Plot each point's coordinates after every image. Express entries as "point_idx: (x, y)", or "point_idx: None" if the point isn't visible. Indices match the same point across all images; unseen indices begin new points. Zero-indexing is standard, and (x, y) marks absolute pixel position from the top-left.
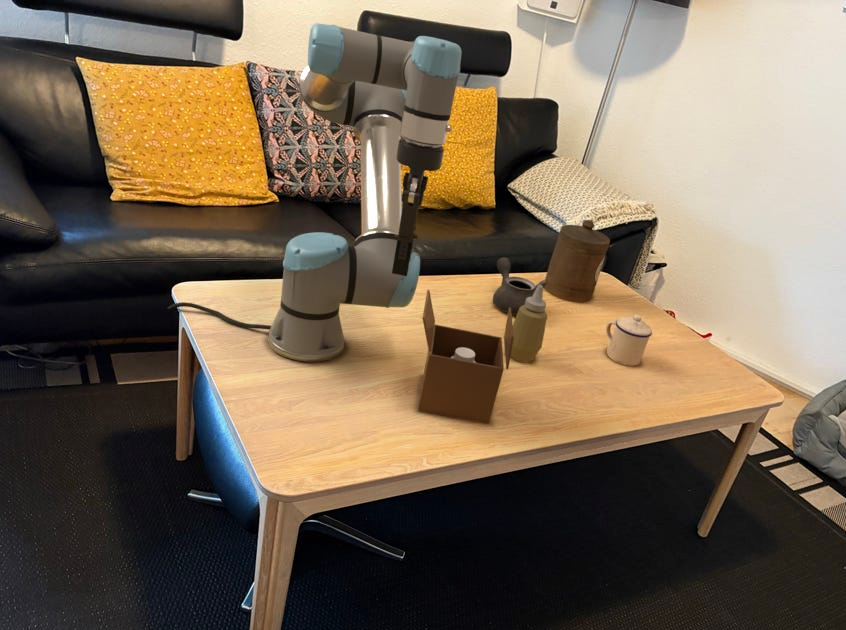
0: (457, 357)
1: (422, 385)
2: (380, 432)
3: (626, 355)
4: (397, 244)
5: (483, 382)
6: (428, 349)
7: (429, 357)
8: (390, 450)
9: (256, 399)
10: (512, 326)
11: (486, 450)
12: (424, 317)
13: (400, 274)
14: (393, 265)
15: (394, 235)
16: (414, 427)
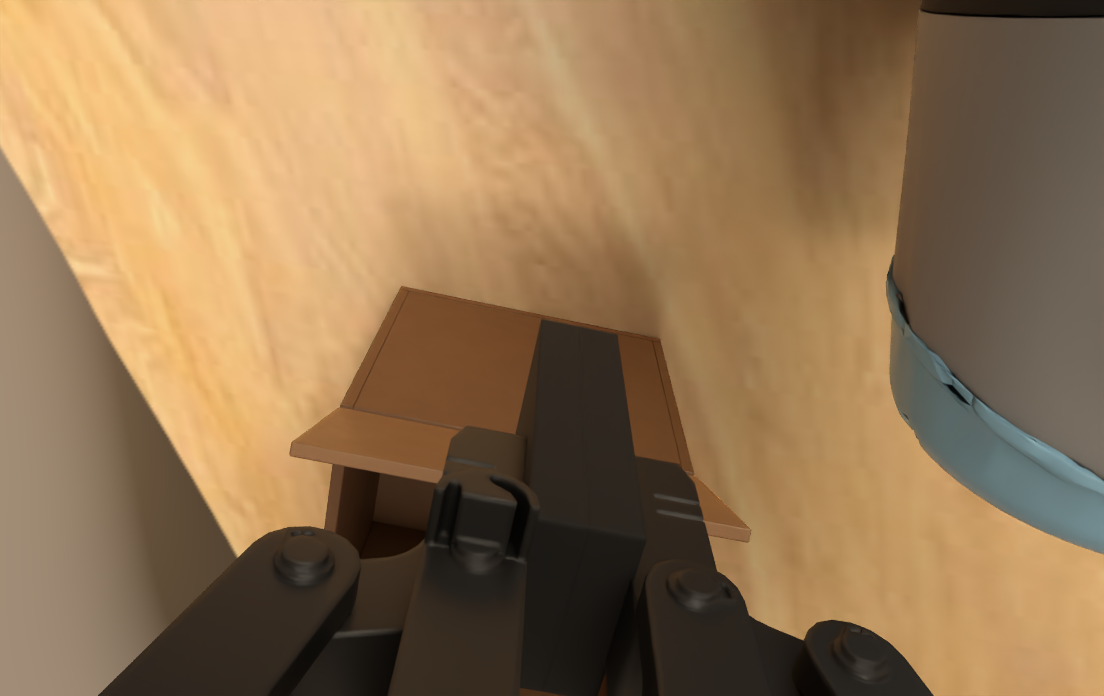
0: None
1: (460, 329)
2: (225, 121)
3: None
4: (527, 484)
5: None
6: (337, 409)
7: (344, 400)
8: (119, 150)
9: None
10: None
11: (207, 482)
12: (294, 456)
13: (524, 393)
14: (538, 354)
15: (509, 502)
16: (288, 259)
